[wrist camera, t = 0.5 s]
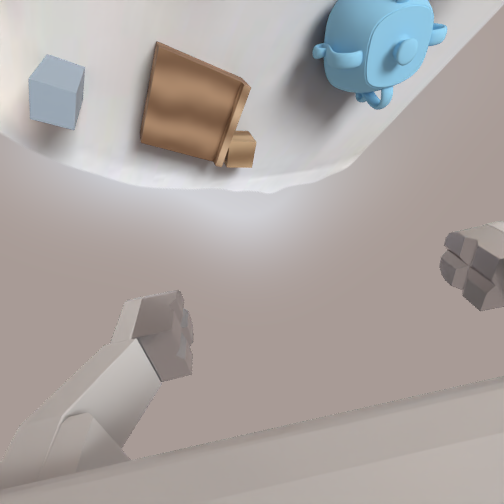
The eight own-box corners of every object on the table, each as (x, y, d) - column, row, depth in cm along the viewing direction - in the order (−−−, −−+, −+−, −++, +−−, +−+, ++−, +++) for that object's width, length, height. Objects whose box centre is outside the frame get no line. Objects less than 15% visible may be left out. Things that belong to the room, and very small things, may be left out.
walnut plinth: (156, 41, 43) (159, 49, 39) (241, 77, 49) (251, 87, 46) (139, 132, 50) (141, 146, 47) (215, 153, 57) (221, 167, 54)
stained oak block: (223, 129, 55) (229, 141, 51) (248, 131, 56) (256, 142, 53) (220, 155, 58) (226, 167, 55) (244, 155, 60) (251, 167, 56)
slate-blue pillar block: (47, 54, 40) (28, 78, 32) (84, 67, 42) (76, 93, 34) (47, 88, 43) (30, 118, 34) (82, 99, 45) (74, 130, 37)
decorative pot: (375, -63, 42) (445, -69, 33) (413, 28, 52) (474, 43, 43) (295, 41, 48) (335, 60, 39) (343, 105, 58) (383, 132, 49)
